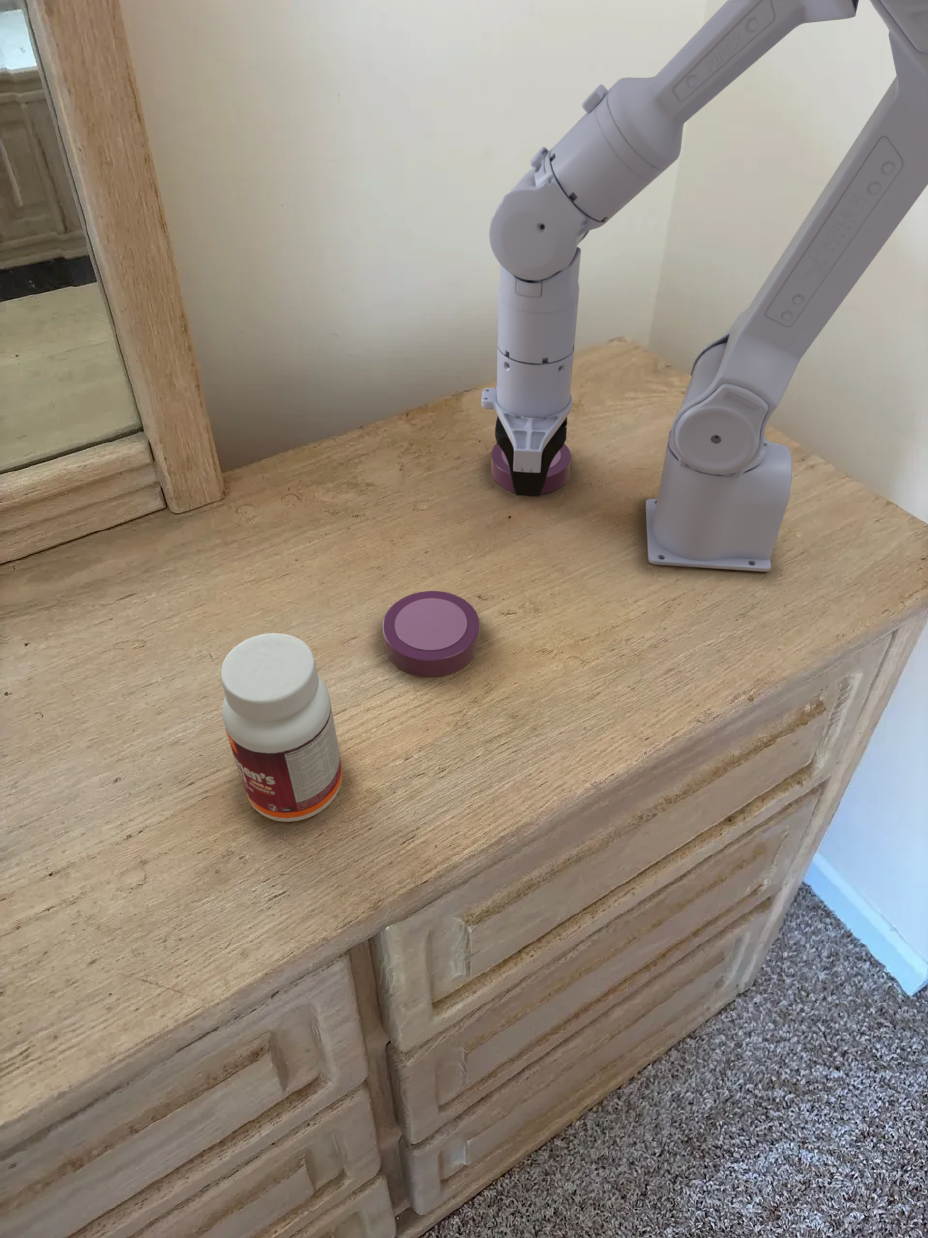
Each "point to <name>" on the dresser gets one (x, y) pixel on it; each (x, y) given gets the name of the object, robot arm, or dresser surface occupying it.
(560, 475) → the purple round puck
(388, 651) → the purple disc
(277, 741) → the pill bottle
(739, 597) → the dresser surface
